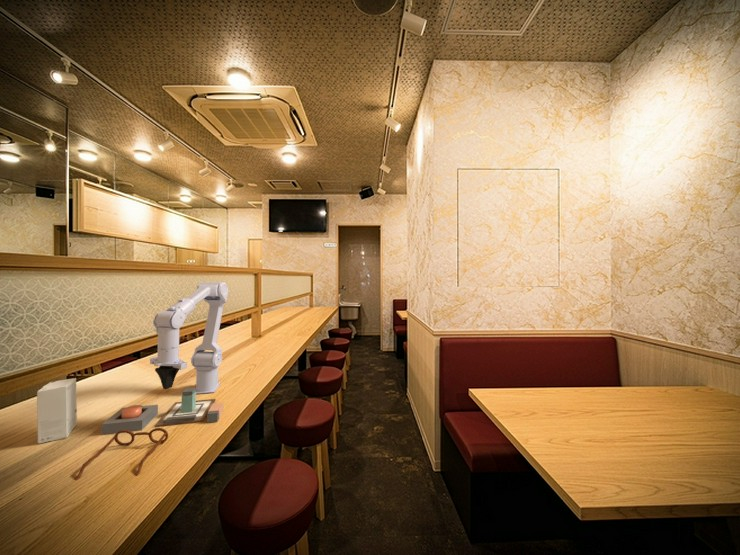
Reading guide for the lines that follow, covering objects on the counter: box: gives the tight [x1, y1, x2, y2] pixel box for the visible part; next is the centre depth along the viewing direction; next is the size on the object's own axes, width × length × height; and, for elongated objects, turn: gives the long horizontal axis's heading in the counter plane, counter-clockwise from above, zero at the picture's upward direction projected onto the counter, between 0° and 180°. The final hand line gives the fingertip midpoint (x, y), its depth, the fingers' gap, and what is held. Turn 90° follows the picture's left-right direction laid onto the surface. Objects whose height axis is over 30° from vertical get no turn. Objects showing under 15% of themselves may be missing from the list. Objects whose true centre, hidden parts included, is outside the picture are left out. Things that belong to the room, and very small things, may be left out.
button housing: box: [101, 404, 159, 435], centre depth 86 cm, size 10×10×3 cm
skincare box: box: [36, 377, 78, 445], centre depth 79 cm, size 8×6×15 cm
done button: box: [122, 404, 143, 419], centre depth 86 cm, size 5×5×3 cm
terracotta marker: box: [206, 401, 224, 424], centre depth 91 cm, size 7×3×3 cm, turn 16°
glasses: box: [75, 427, 169, 481], centre depth 70 cm, size 13×13×5 cm
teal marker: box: [181, 387, 197, 413], centre depth 93 cm, size 3×3×7 cm
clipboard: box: [155, 398, 216, 428], centre depth 93 cm, size 15×13×2 cm
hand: (167, 387), depth 90 cm, fingers closed
